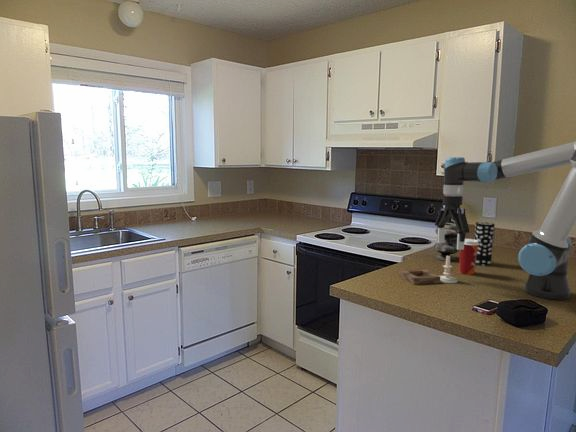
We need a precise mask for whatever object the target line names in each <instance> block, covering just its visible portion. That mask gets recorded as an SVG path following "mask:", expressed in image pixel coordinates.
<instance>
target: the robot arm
mask: <svg viewBox="0 0 576 432" xmlns="http://www.w3.org/2000/svg"><path fill="white" fill-rule="evenodd" d="M567 165H572V166H571V169H570V171H569V172H568V174H567V177H565V180H564V182H563V184H562V186H561V188H560V190H559V192H558V193H557V195H556V197H555V200H554V202H553V204H552V205H551V207H550V208H549V211H548V213H547V215H546V217H545V218H544V221H543V222H542V224H541V227H540V229H538V230H534V231H532V233H531V234H530V235H531V236H530V237H529V239H528V241H527V243H526V244H525V245H524V246H523V247H521V249H520V250H519V252H518V255H517V257H518V263H519V266H520V267H521V269H523V270H524V272H526V273H528V274H529V276H528V278H527V281H526V282H525V283H524V288H523V289H524V292H526V293H527V294H529V295H532V296H535V297H538V298H543V299H547V300H548V299H549V300H558V301H561V300H569V299H570V298H571V293H572V292H571V291H572V290H571V289H570V287H569V286H570V285H569V281H568V271H569V270H568V269H569V262H570V256H571V255H570V253H571V248H572V241H571V240H572V239H571V238H570V237H569V235H570V234H571V232H572V230H573V228H574V227H575V225H576V140H575V141H573V142H569V143H565V144H560V145H557V146H552V147H548V148H544V149H540V150H536V151H531V152H527V153H523V154H519V155H516V156H515V155H514V156H511V157H507V158H504V159H498V160H494V161H490V162H489V161H482V162H480V161H478V162H471V161H470V162H467V161H466V159H465V157H456V156H455V157H446V158H445V162H444V168H443V169H444V172H443V174H444V175H443V186H442V187H443V191H442V193H443V196H442V204H443V205H442V204H441V205H440V206H439V212H438V213H437V216H436V220H435V222H434V225H435V226H436V228H438V234H437V237H438V243H444V235H445V228H443V227H445V226H444V225H445V224H446V223H448V220H449V219H452V220H453V221H454V224H456V226H457V229H458V231H459V232H458V236H457V250H459V251H460V250H463V249H464V242H465V239H466V234H468V233H470V229H469V228H470V227H469V224H468V220H467V215H466V208H461V207H460V206H462V205H463V202H464V201H463V200H464V197H463V195H464V194H463V193H464V182H477V183H478V182H479V183H480V182H481V183H492V182H494V181H499V180H501V179H507V178H511V177H515V176H516V177H517V176H520V175H524V174H526V175H527V174H530V173H534V172H539V171H545V170H548V169H552V168H553V169H555V168H557V167H558V168H559V167H563V166H567Z"/></svg>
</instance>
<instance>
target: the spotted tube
mask: <svg viewBox="0 0 576 432" xmlns="http://www.w3.org/2000/svg"><path fill="white" fill-rule="evenodd" d="M495 225H496V224H495V223H493V222H485V221H478V222H475V224H474V226H475V227H474V238H473V239H474V240H477V241H478V243H479V245H478V250H477V256H476V263H475V266H482V267H489V266H491V265H492V258H493V257H492V256H493V246H494V235H495Z"/></svg>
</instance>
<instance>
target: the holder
mask: <svg viewBox="0 0 576 432" xmlns="http://www.w3.org/2000/svg"><path fill="white" fill-rule="evenodd" d="M439 276H440V275H437V274H436V273H433V272H431V271H429V270H427V269H425V268H422V269H421V268H418V269H417V268H416V269H401V270H399V277H401V278H403V279H404V280H405V281H407V282H409V283H411V284H412V285H426V284H427V283H428V284H440V283H441V282H440V277H439ZM428 284H427V285H428Z"/></svg>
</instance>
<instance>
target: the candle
mask: <svg viewBox="0 0 576 432" xmlns="http://www.w3.org/2000/svg"><path fill="white" fill-rule="evenodd" d="M450 256H451V255H450ZM450 256H449V255H448V256H447V257H446V261H445V264H444V265H443V264H442V267H443V268H444V272H443V271H442V272H443V273H442V275H440V276H441V277H440V278H441V279H443V280H453V277H454V276H451V275H452V273H451V269H452V268H453V266H452V265H451V261H450ZM450 276H451V277H450Z"/></svg>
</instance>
